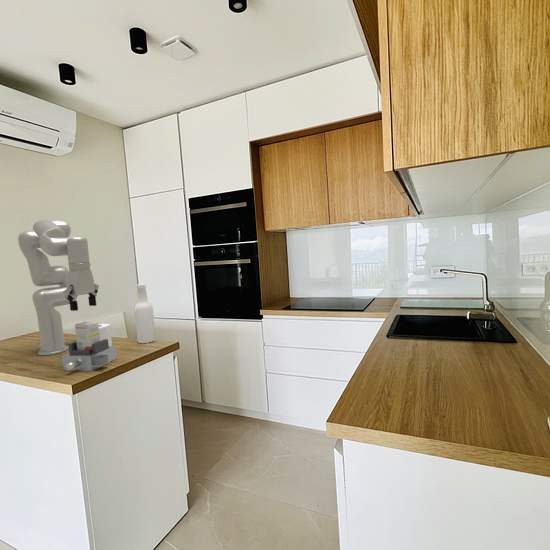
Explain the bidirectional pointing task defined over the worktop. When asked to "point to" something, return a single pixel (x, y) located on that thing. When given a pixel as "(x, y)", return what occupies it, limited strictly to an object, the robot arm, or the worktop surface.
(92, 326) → the ink box
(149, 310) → the alcohol
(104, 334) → the toilet paper
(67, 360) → the grey boxy piece
